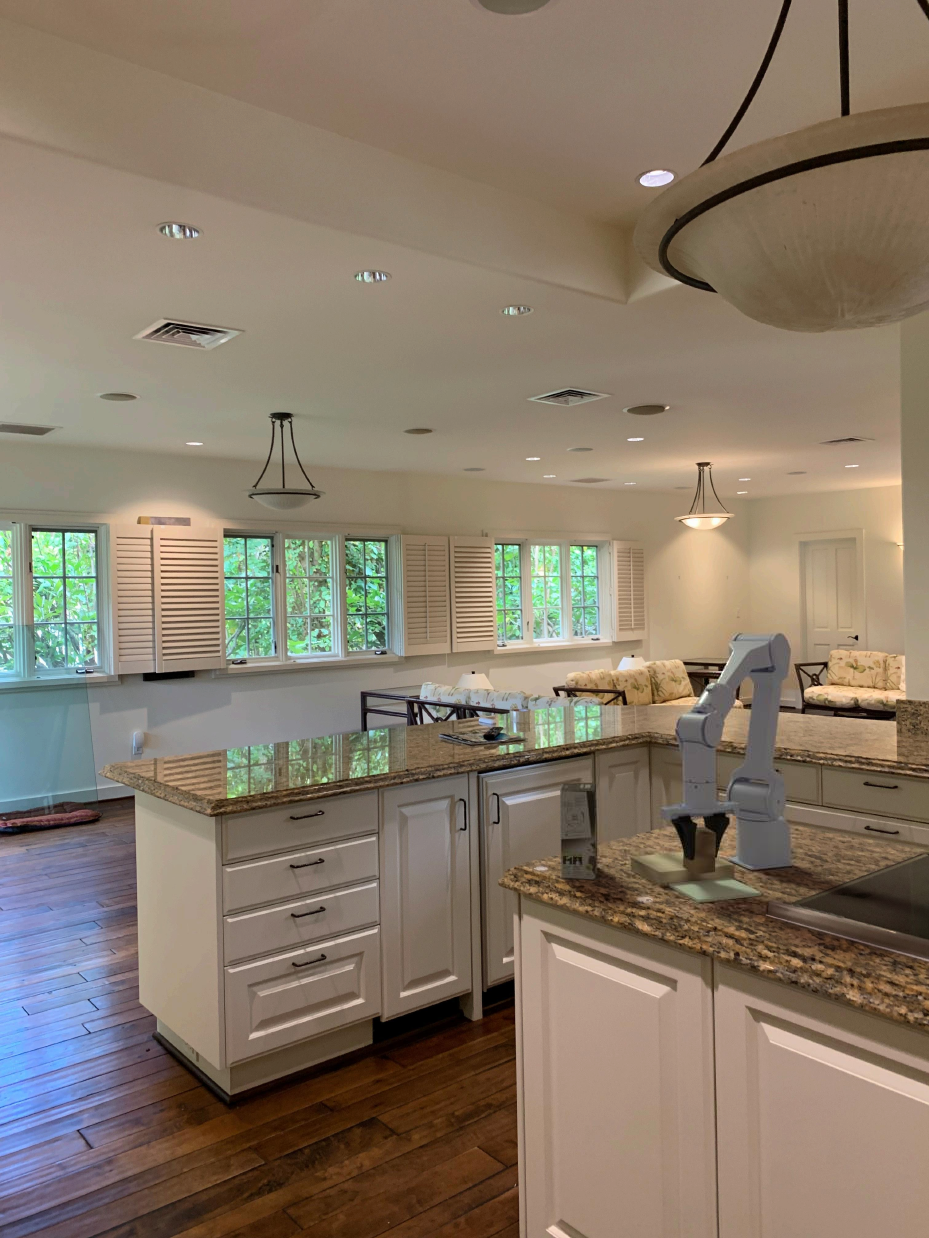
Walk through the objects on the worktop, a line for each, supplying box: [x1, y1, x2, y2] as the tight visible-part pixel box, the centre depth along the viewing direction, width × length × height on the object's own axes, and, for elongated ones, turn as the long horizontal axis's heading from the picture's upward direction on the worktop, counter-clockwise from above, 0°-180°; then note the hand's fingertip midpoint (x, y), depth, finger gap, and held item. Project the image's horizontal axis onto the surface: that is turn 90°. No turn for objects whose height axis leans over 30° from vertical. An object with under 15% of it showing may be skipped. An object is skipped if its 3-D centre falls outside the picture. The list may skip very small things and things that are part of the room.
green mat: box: [668, 877, 762, 904], centre depth 152 cm, size 12×10×1 cm
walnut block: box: [682, 826, 716, 874], centre depth 156 cm, size 4×4×7 cm
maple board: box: [630, 851, 736, 888], centre depth 162 cm, size 15×11×2 cm
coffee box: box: [559, 782, 599, 881], centre depth 165 cm, size 9×6×16 cm
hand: (700, 857), depth 156 cm, fingers closed on walnut block, 4 cm apart
